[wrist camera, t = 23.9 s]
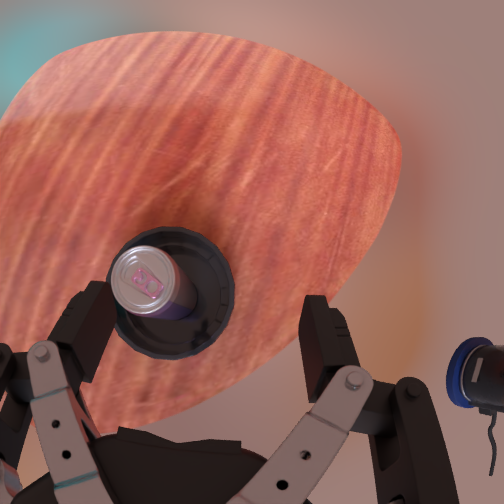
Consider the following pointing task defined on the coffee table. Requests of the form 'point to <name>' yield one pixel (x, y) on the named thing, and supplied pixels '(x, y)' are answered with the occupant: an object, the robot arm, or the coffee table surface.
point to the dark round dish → (207, 306)
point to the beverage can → (152, 284)
